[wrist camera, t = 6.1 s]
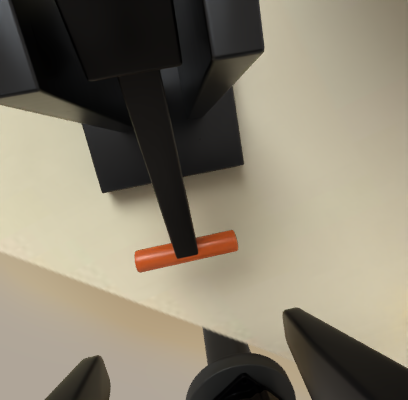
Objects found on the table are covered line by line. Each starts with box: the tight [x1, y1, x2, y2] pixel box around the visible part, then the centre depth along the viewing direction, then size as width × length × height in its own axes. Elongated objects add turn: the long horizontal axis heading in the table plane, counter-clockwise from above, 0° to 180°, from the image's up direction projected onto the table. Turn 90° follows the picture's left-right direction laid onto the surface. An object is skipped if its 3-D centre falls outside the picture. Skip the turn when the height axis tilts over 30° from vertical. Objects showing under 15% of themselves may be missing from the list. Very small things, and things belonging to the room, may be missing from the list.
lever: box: [54, 0, 238, 273], centre depth 9 cm, size 12×5×2 cm, turn 10°
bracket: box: [0, 0, 264, 193], centre depth 10 cm, size 11×9×12 cm
